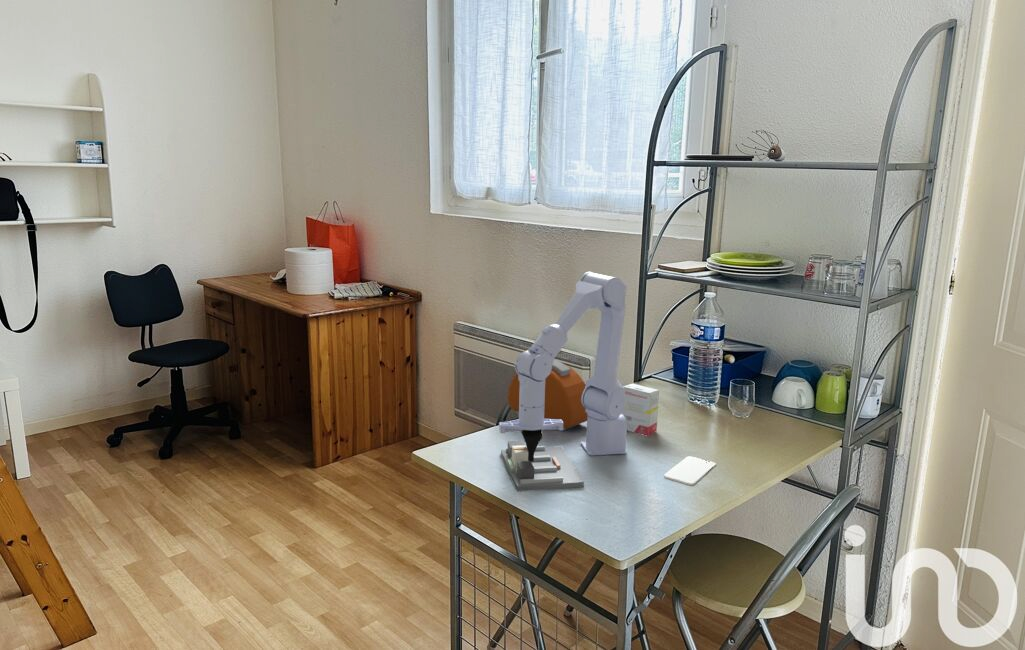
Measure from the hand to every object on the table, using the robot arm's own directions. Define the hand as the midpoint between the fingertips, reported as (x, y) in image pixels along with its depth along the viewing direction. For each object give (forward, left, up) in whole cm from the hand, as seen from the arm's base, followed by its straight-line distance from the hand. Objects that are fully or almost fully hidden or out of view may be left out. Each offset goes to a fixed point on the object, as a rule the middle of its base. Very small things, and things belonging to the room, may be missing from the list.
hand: (530, 460), depth 174 cm
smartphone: (-37, +5, -3) cm, 38 cm away
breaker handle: (+2, 0, -1) cm, 3 cm away
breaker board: (-3, 0, -3) cm, 4 cm away
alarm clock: (-12, -32, -3) cm, 34 cm away
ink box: (-34, -21, -3) cm, 40 cm away
